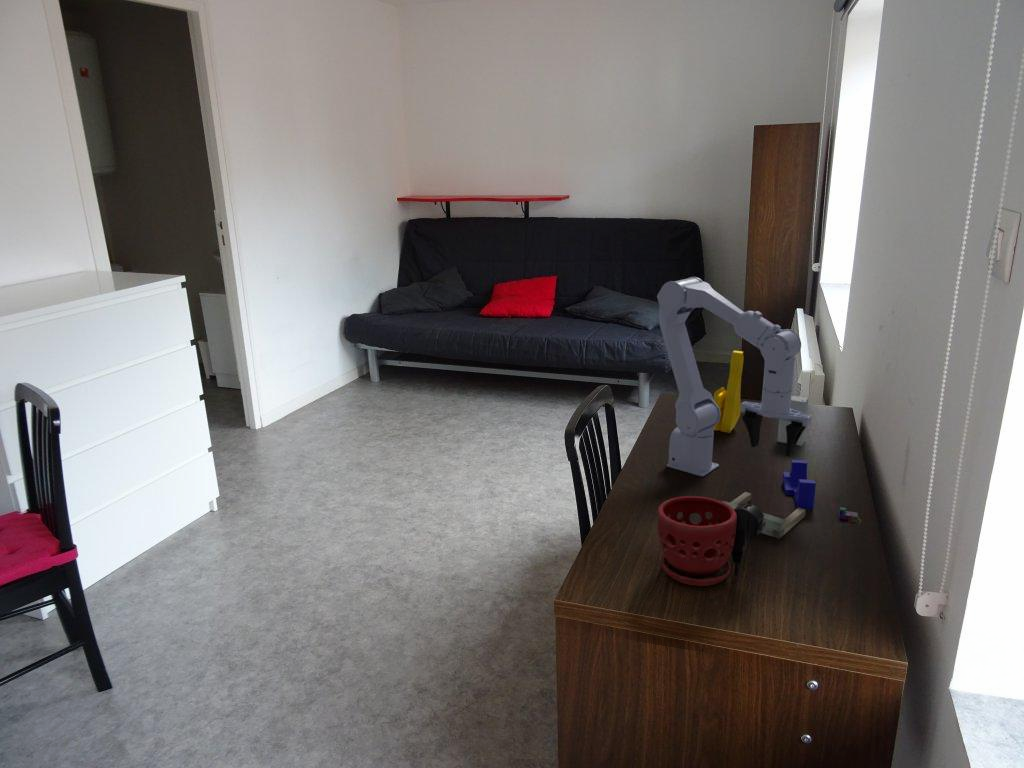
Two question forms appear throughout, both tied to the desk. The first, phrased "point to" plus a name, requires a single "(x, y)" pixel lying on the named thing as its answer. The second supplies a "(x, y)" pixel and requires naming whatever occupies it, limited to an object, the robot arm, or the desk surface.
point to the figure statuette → (730, 395)
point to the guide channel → (772, 518)
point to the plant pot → (696, 539)
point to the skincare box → (798, 405)
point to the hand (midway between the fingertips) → (771, 450)
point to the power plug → (745, 531)
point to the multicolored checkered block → (849, 516)
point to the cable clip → (799, 484)
